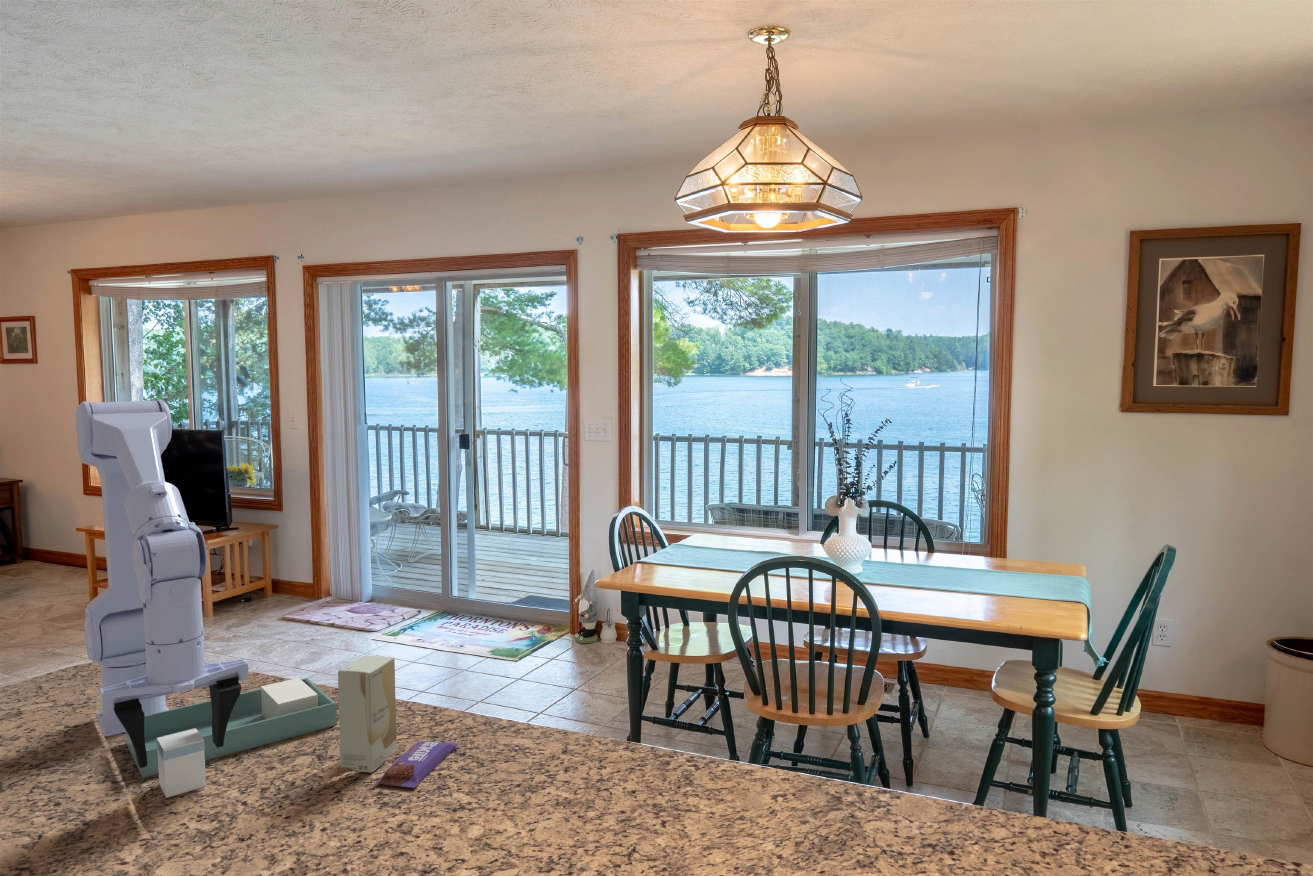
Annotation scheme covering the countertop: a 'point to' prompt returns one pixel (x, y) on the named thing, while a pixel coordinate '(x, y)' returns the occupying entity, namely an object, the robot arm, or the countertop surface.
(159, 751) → the milk carton
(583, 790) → the countertop surface
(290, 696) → the white box
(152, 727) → the tray
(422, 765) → the snack package
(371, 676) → the skincare box
